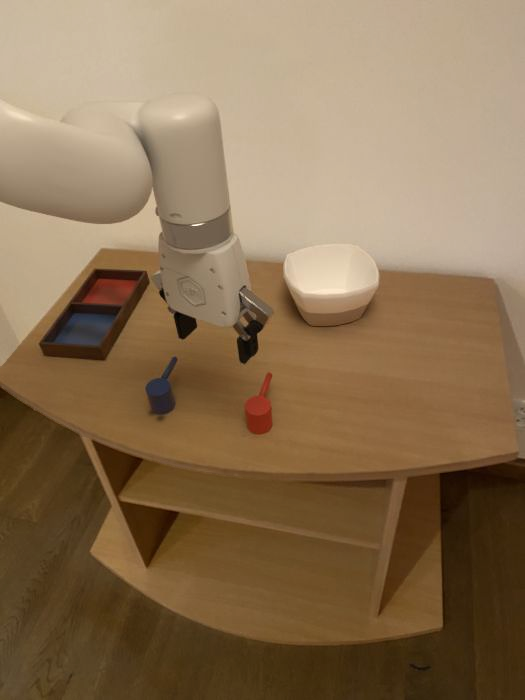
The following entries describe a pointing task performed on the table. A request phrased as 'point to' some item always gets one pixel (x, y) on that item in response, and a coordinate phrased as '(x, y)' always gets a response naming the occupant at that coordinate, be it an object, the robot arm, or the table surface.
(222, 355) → the table surface
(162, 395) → the blue mallet
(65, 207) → the robot arm
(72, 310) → the tray
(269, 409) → the red round-headed part
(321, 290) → the bowl
